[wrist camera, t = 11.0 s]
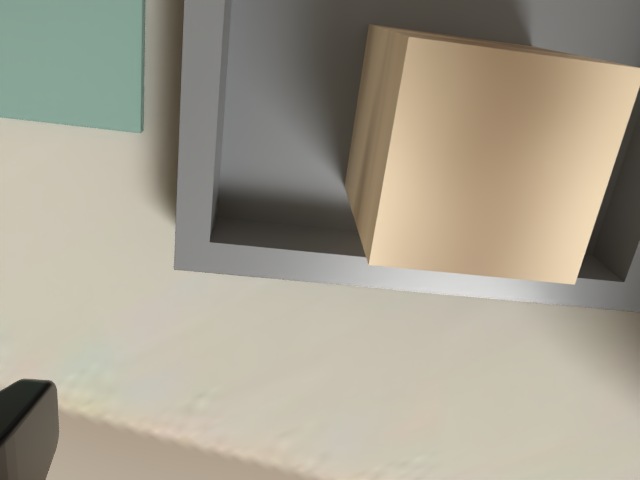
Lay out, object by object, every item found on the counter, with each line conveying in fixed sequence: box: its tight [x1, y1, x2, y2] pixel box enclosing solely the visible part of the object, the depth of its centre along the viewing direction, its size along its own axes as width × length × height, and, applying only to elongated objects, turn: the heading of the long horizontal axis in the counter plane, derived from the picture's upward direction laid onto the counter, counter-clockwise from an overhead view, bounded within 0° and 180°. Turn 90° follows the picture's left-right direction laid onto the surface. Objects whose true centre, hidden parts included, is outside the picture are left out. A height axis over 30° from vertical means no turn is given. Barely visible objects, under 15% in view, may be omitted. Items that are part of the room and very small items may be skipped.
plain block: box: [344, 24, 640, 285], centre depth 15 cm, size 5×5×6 cm
